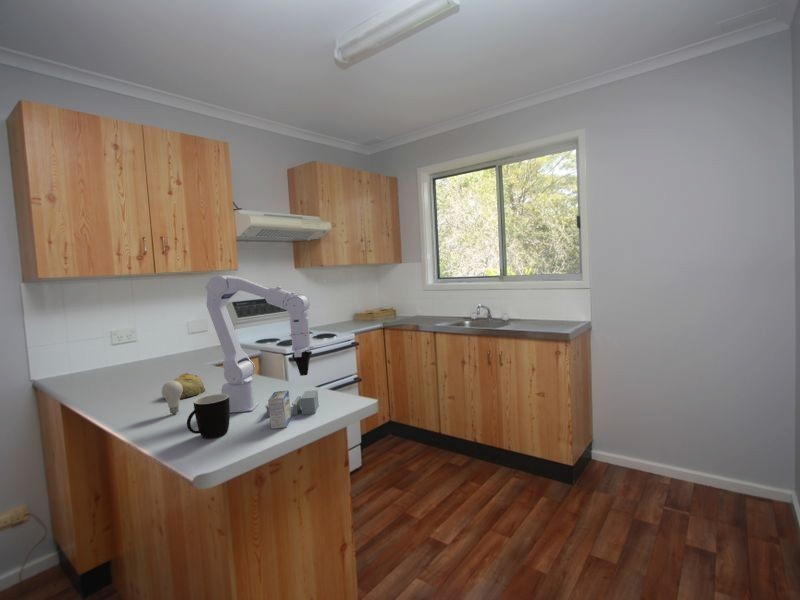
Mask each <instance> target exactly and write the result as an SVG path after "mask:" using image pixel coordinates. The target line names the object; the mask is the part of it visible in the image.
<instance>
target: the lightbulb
mask: <svg viewBox="0 0 800 600" xmlns="http://www.w3.org/2000/svg"><path fill="white" fill-rule="evenodd" d="M182 392H183V387H182V385H181V384H180V383H179V382H177V381H174V380H170V381H167V382H166V383H164V384H163V385H162V387H161V395H162V397H163V399H165V400H166V403H167V405H168V406H167V407H168V408H169V413H170V414H172V415H177V413H179V412H180V408H179V407H180V397H181V394H182Z"/></svg>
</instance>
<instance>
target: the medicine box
mask: <svg viewBox="0 0 800 600" xmlns="http://www.w3.org/2000/svg"><path fill="white" fill-rule="evenodd" d="M267 402H268V404H269V414H270V417H269V422H270V428H271V429H272V430H273V429H283V428H288V427H287V426H288V425H289V424H290V421H291V419H292V415H291V410H290V407H291V401H290V392H289V390H277V391H275V392H273V393H272V395H271V396H270V397H269V399H268V400H267ZM268 404H267V405H268Z"/></svg>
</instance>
